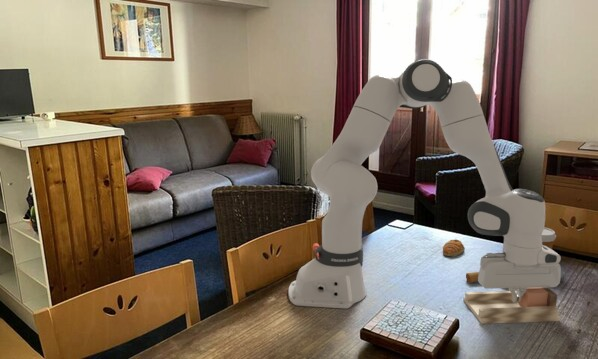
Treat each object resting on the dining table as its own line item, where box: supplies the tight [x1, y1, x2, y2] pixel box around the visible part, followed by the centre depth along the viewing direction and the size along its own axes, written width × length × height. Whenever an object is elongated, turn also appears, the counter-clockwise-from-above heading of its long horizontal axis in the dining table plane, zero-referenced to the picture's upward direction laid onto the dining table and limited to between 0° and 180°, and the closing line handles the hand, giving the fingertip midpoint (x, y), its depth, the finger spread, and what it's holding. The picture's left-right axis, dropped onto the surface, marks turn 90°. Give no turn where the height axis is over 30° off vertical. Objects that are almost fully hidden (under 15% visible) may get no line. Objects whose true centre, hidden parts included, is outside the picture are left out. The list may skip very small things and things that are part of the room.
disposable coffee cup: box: [541, 226, 557, 250], centre depth 147 cm, size 10×10×12 cm
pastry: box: [442, 239, 466, 257], centre depth 159 cm, size 9×7×4 cm
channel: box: [463, 287, 561, 325], centre depth 120 cm, size 20×12×6 cm, turn 92°
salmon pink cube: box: [518, 287, 548, 307], centre depth 120 cm, size 5×5×5 cm
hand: (515, 301), depth 121 cm, fingers closed
